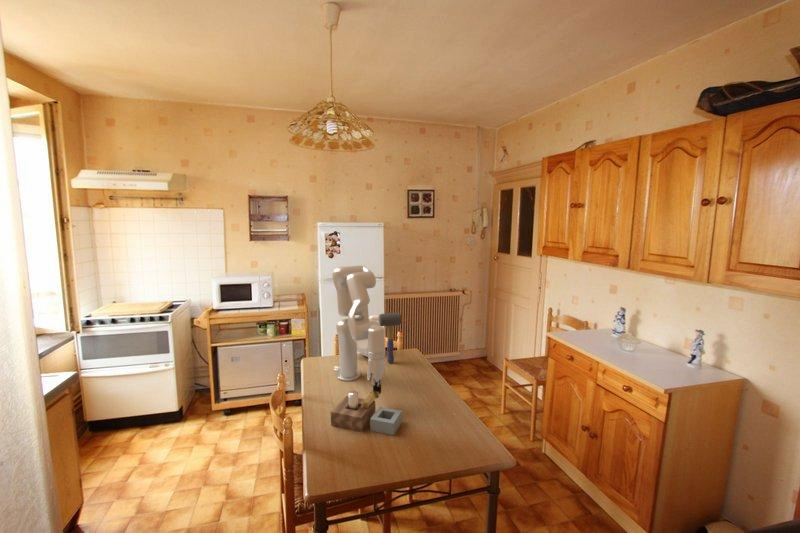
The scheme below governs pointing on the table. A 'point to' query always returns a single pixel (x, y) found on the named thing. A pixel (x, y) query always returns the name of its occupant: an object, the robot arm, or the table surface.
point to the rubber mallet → (390, 330)
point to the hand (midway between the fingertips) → (377, 393)
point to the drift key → (370, 399)
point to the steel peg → (353, 400)
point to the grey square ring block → (386, 420)
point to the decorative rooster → (363, 344)
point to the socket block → (352, 415)
